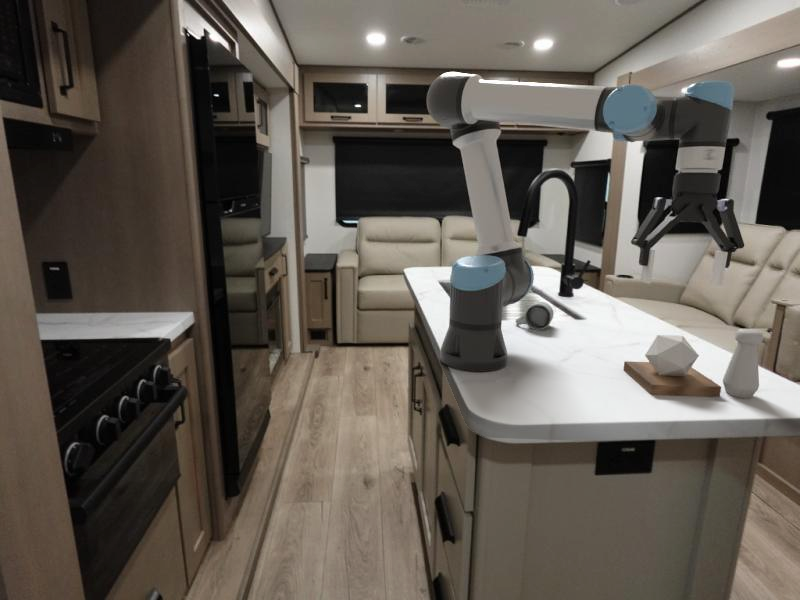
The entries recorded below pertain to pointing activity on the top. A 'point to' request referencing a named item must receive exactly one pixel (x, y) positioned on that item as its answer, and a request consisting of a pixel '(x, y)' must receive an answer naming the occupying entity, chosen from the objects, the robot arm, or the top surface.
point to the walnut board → (671, 381)
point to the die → (671, 355)
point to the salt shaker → (744, 365)
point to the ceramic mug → (537, 316)
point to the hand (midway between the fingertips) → (680, 283)
